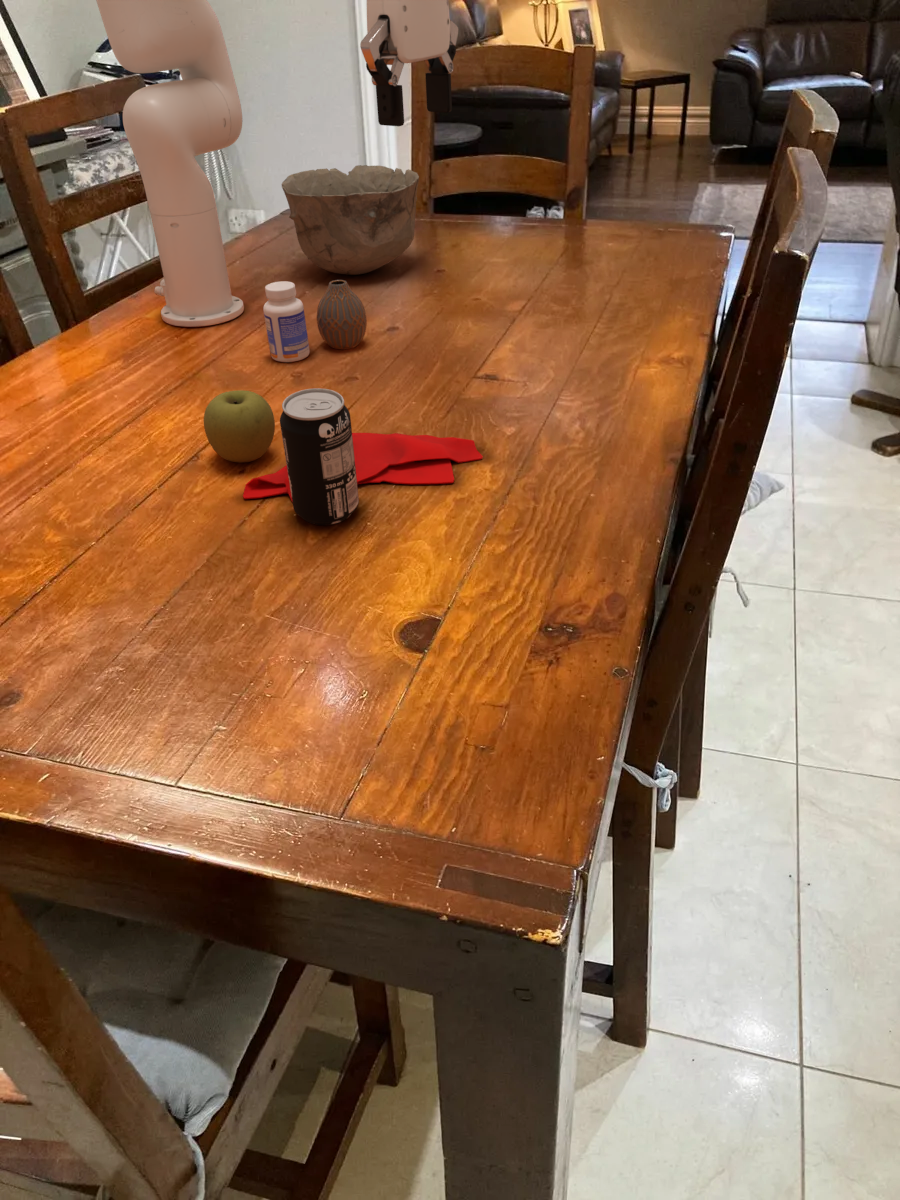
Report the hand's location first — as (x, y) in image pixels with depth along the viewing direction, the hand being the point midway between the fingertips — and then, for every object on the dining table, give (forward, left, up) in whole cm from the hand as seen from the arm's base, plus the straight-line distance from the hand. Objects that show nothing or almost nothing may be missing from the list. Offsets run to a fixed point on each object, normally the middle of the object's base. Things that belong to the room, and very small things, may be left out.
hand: (416, 118), depth 108 cm
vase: (-15, +1, -30) cm, 34 cm away
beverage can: (+13, -37, -30) cm, 49 cm away
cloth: (+10, -27, -30) cm, 42 cm away
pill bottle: (-19, -6, -30) cm, 36 cm away
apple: (-3, -32, -30) cm, 44 cm away
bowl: (-35, +30, -30) cm, 55 cm away
